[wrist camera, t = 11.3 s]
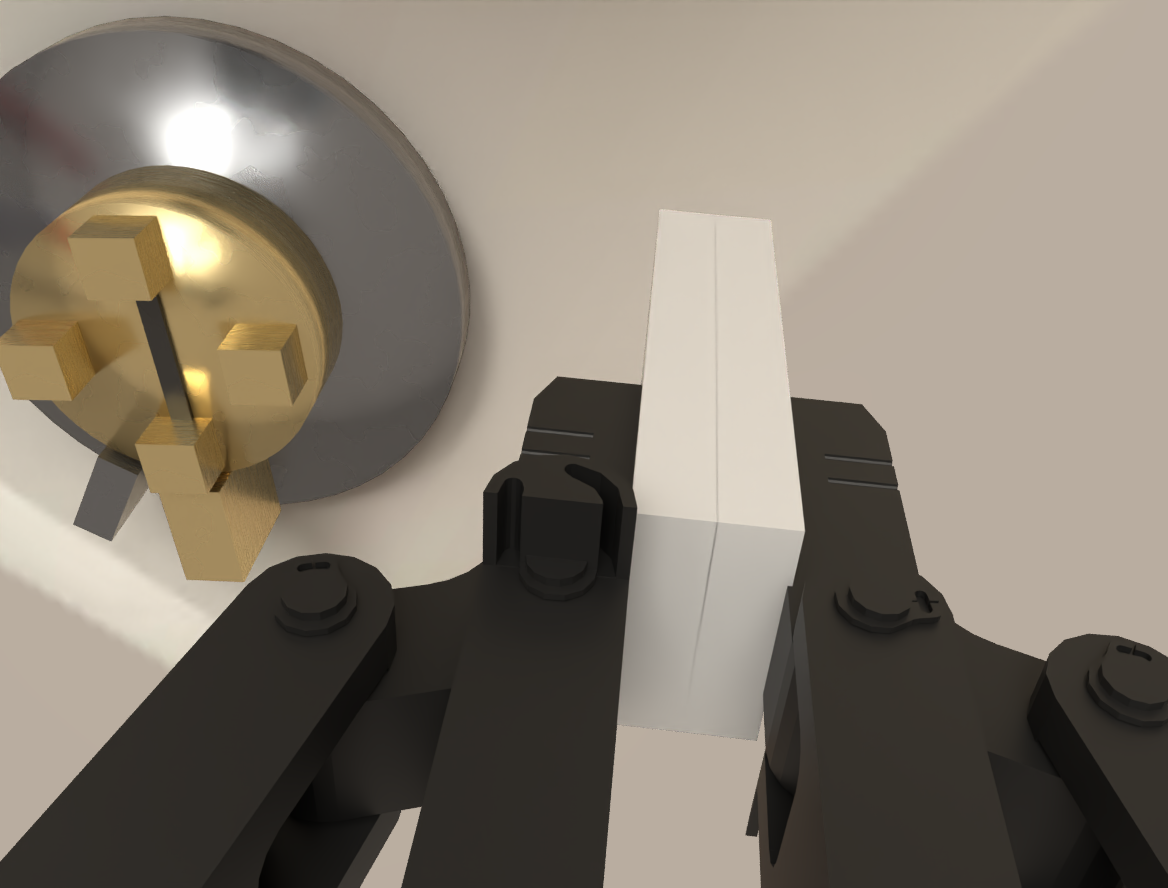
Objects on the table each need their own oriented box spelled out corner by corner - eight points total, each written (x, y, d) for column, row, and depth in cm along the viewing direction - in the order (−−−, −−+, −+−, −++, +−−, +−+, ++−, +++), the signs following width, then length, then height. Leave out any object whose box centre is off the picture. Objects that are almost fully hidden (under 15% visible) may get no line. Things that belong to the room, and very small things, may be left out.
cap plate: (-68, 343, 47) (-158, 420, 42) (33, -101, 36) (-72, -66, 31) (356, 543, 51) (319, 634, 46) (559, 199, 41) (539, 271, 36)
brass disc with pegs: (18, 164, 39) (-68, 225, 35) (315, 165, 38) (265, 227, 34) (134, 504, 48) (77, 586, 44) (378, 512, 47) (344, 597, 43)
